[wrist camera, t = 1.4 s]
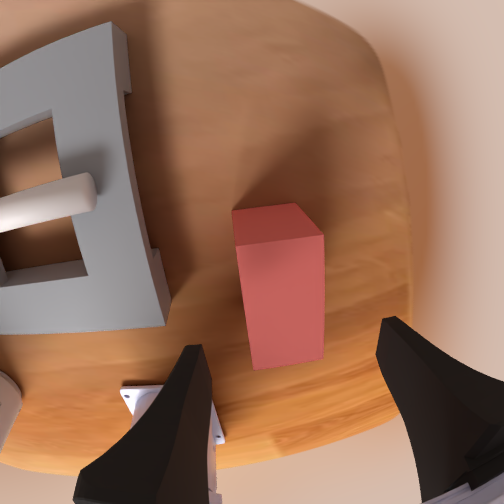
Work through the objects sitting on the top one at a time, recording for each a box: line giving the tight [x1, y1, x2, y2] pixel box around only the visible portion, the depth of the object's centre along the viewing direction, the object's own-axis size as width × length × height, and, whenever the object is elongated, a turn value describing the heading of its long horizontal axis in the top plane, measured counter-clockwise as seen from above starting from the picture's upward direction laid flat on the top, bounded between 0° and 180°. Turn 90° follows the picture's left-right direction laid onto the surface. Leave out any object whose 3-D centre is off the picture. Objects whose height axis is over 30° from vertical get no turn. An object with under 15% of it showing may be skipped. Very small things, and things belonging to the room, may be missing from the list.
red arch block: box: [232, 203, 325, 370], centre depth 18 cm, size 8×4×6 cm, turn 6°
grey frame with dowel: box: [0, 21, 172, 335], centre depth 15 cm, size 18×16×5 cm
